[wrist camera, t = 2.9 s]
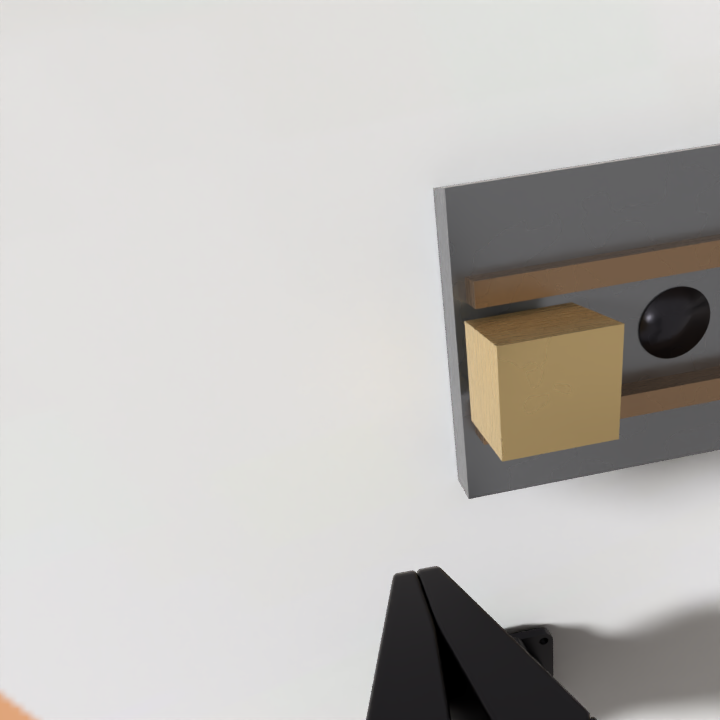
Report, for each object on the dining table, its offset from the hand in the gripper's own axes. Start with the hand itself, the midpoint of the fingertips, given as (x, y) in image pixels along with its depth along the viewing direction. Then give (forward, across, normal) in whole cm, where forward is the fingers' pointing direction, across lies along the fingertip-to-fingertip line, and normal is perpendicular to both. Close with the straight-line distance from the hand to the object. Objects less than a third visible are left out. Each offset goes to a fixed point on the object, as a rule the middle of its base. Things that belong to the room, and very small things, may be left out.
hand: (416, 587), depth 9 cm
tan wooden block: (+10, -6, 0) cm, 12 cm away
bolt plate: (+12, -17, 0) cm, 21 cm away
